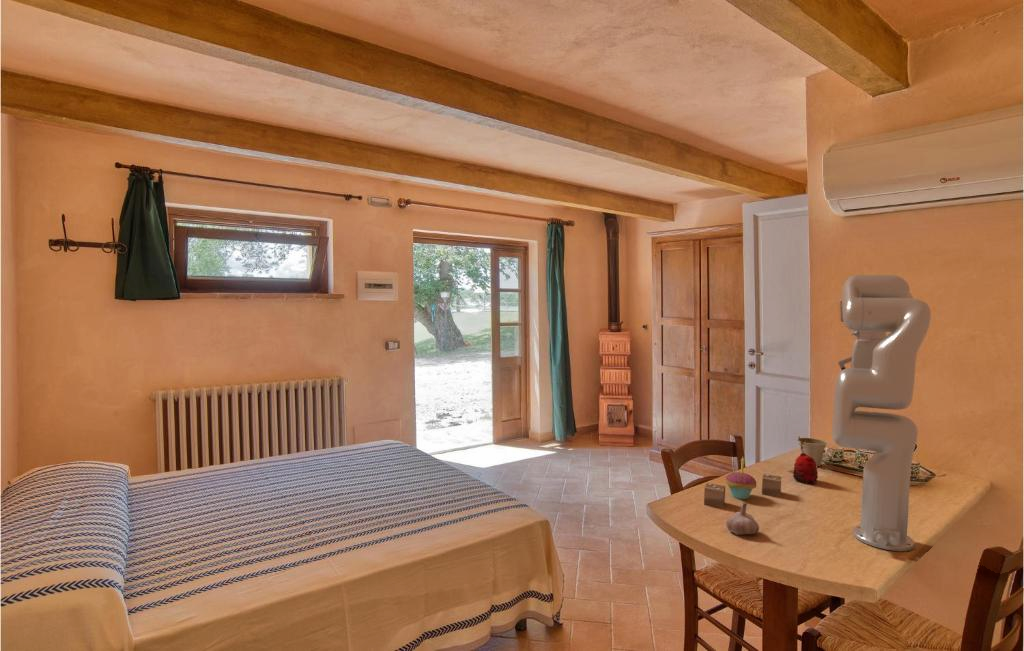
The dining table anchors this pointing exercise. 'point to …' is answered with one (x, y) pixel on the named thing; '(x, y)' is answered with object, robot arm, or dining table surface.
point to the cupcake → (740, 483)
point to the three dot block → (714, 495)
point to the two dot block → (771, 485)
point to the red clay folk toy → (805, 468)
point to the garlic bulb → (742, 522)
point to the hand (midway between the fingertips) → (868, 389)
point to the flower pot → (813, 448)
